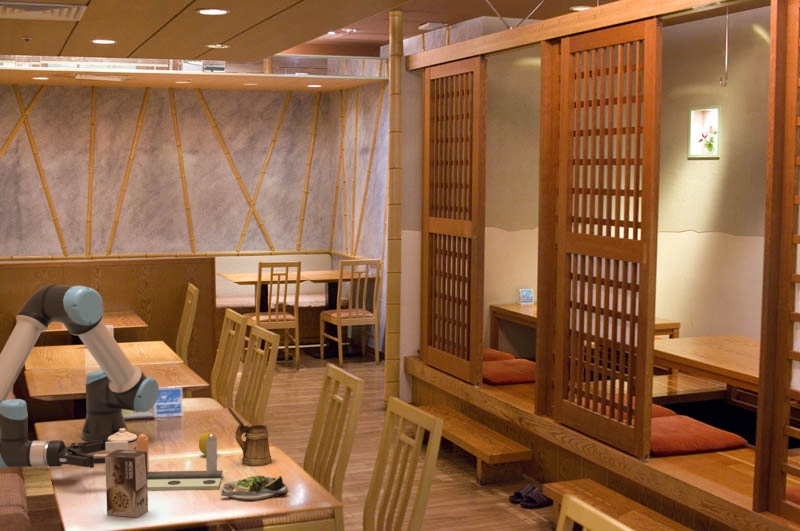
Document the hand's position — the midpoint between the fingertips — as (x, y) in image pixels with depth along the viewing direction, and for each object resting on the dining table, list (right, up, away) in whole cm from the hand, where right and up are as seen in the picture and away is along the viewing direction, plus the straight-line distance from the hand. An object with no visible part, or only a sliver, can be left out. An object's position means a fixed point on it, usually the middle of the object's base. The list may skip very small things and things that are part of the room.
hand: (123, 452), depth 280 cm
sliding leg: (+5, -6, +2) cm, 8 cm away
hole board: (+16, -9, -4) cm, 19 cm away
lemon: (+19, -6, +27) cm, 34 cm away
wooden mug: (+34, -7, +20) cm, 40 cm away
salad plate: (+40, -10, -7) cm, 42 cm away
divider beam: (+15, -8, +3) cm, 17 cm away
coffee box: (+9, -11, -26) cm, 30 cm away
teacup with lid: (-5, -7, +17) cm, 19 cm away
